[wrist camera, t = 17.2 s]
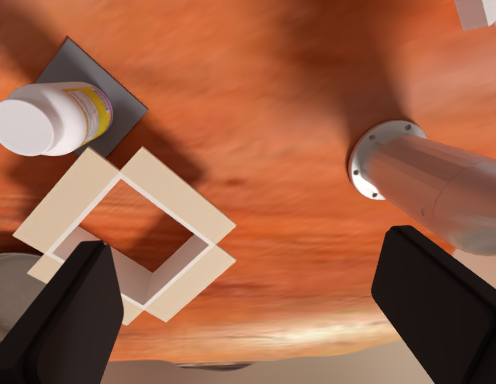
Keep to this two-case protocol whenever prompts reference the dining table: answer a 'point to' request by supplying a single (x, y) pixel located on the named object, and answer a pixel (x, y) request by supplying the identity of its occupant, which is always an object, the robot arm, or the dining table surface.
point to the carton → (128, 271)
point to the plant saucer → (16, 287)
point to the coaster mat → (87, 70)
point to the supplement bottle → (53, 118)
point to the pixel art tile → (476, 13)
